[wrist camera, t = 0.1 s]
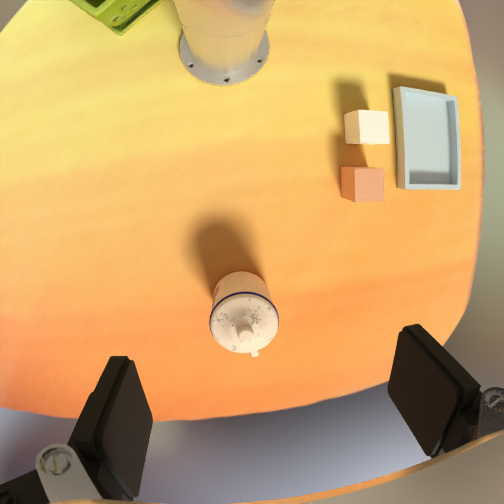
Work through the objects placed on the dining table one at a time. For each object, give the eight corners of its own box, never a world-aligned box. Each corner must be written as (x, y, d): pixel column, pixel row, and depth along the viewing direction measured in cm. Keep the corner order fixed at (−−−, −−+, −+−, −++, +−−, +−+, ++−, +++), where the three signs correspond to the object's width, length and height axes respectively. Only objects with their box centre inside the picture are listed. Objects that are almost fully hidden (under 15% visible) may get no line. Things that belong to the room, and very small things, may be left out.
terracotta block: (340, 167, 45) (354, 168, 39) (367, 166, 45) (384, 168, 40) (341, 197, 46) (355, 202, 41) (368, 195, 46) (384, 201, 41)
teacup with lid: (204, 277, 48) (198, 313, 37) (263, 262, 48) (274, 294, 37) (225, 342, 51) (227, 387, 40) (279, 328, 51) (292, 371, 40)
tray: (391, 88, 41) (399, 86, 39) (448, 98, 42) (456, 96, 40) (396, 187, 46) (405, 189, 44) (451, 187, 47) (460, 189, 44)
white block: (343, 114, 42) (358, 109, 37) (370, 115, 43) (387, 111, 37) (345, 143, 44) (360, 142, 38) (372, 144, 44) (389, 143, 39)
